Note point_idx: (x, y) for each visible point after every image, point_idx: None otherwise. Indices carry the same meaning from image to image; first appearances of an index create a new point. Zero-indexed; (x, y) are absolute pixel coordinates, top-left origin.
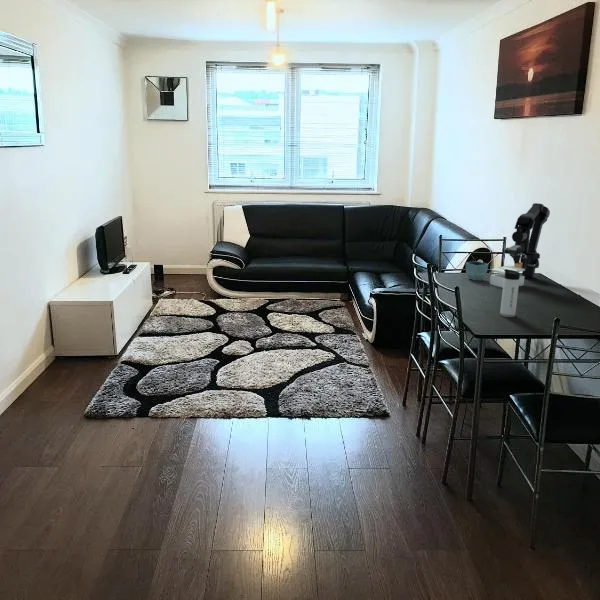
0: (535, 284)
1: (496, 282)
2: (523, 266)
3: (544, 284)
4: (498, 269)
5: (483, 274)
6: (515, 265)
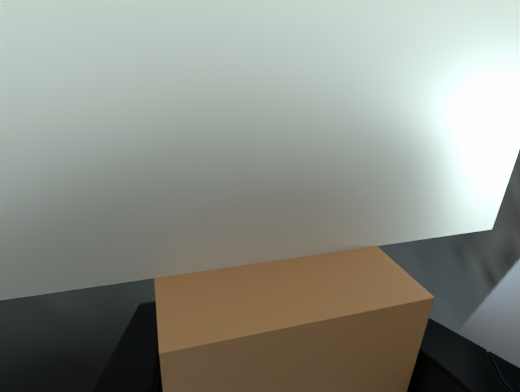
0: (58, 307)
1: None
2: (105, 383)
3: (25, 384)
4: None
5: None
6: (354, 267)
